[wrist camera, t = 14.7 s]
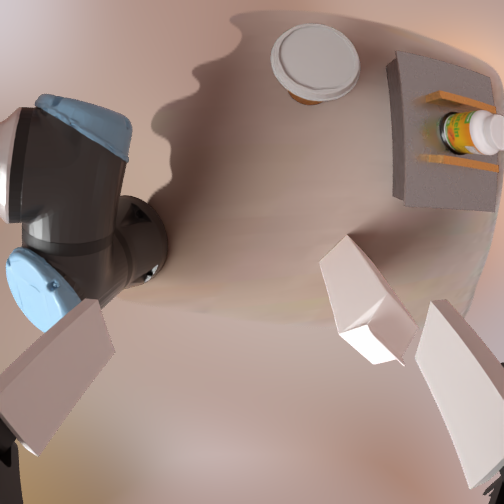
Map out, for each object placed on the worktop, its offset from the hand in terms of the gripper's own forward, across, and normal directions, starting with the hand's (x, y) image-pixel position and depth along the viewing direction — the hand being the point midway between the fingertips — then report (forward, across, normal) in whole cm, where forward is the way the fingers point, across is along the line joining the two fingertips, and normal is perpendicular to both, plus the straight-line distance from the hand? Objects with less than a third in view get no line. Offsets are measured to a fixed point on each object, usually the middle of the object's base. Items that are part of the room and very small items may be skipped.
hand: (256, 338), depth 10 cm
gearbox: (+32, +25, +11) cm, 42 cm away
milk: (+32, +10, -9) cm, 35 cm away
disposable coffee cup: (+32, +5, +17) cm, 36 cm away
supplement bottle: (+26, +25, +11) cm, 37 cm away
